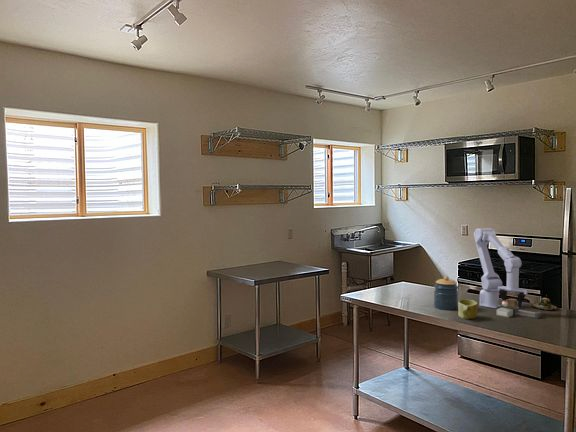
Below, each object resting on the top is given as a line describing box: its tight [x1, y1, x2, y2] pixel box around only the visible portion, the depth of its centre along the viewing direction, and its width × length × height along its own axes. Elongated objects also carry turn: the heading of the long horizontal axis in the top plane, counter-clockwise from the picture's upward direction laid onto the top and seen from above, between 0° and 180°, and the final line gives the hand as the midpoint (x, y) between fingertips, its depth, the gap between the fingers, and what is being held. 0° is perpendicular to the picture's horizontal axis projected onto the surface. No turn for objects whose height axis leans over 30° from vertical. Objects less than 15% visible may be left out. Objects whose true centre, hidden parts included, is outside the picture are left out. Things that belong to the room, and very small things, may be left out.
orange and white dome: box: [501, 300, 508, 307], centre depth 236 cm, size 3×3×2 cm
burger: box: [531, 295, 558, 312], centre depth 250 cm, size 12×12×8 cm
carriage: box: [505, 298, 520, 315], centre depth 241 cm, size 5×6×7 cm
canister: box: [433, 275, 460, 311], centre depth 253 cm, size 13×13×18 cm
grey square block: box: [495, 307, 514, 318], centre depth 237 cm, size 6×6×3 cm
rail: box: [500, 306, 542, 319], centre depth 238 cm, size 18×5×3 cm, turn 42°
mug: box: [457, 298, 479, 320], centre depth 233 cm, size 12×10×10 cm
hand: (512, 305), depth 241 cm, fingers open, 7 cm apart
